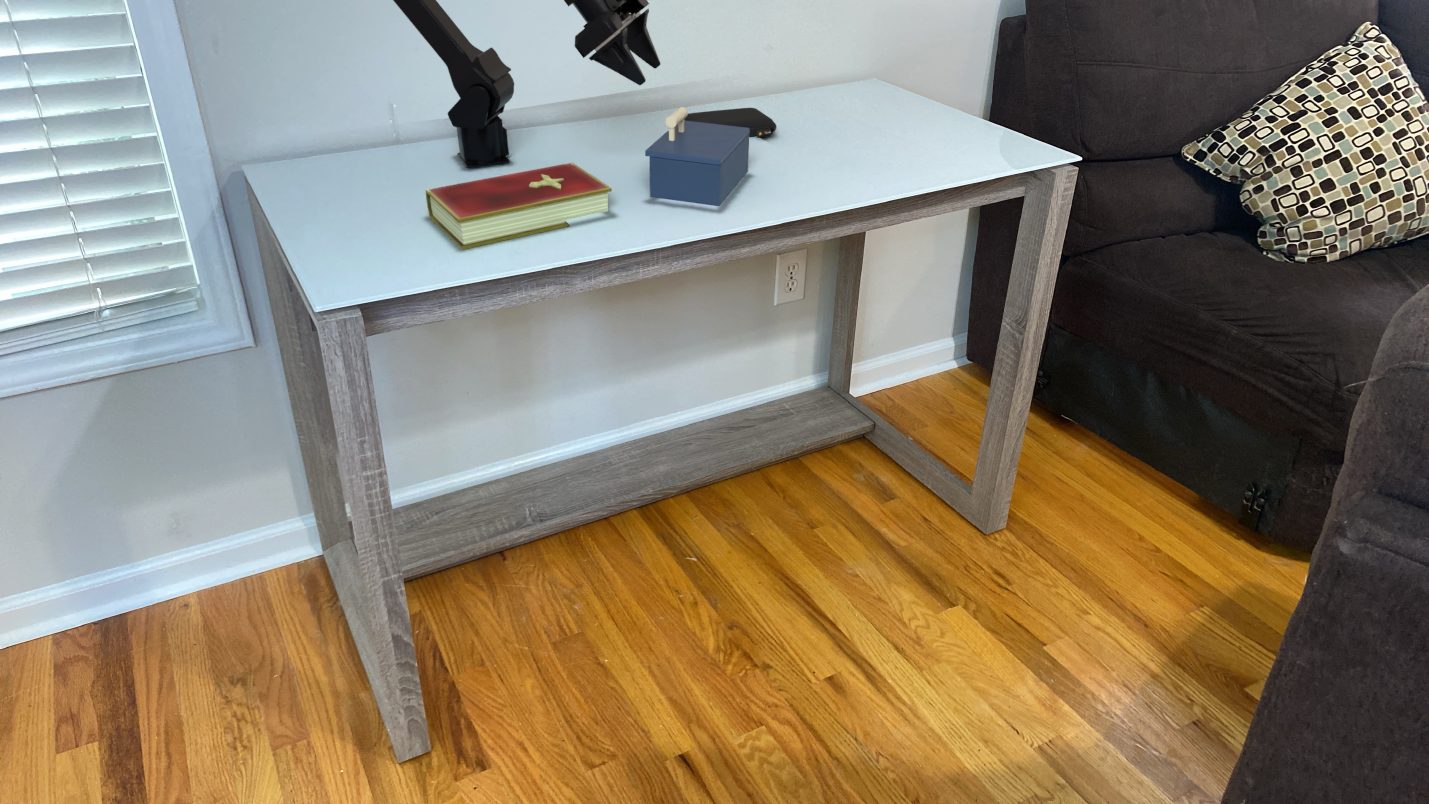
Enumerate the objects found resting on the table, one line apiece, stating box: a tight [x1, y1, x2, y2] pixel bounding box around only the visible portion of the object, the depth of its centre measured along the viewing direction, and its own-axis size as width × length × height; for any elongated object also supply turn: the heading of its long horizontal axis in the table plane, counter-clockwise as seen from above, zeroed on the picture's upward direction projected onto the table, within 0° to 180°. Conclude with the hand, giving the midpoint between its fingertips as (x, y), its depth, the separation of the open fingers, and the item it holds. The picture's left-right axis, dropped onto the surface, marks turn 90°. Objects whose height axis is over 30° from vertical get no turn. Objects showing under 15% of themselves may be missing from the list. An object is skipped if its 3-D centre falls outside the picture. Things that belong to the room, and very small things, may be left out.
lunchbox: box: [648, 134, 750, 207], centre depth 137 cm, size 10×15×6 cm
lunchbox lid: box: [644, 106, 750, 165], centre depth 134 cm, size 11×15×4 cm
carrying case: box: [684, 107, 777, 139], centre depth 158 cm, size 11×3×15 cm
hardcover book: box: [425, 162, 612, 250], centre depth 127 cm, size 12×21×4 cm, turn 123°
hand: (650, 74), depth 135 cm, fingers open, 9 cm apart
